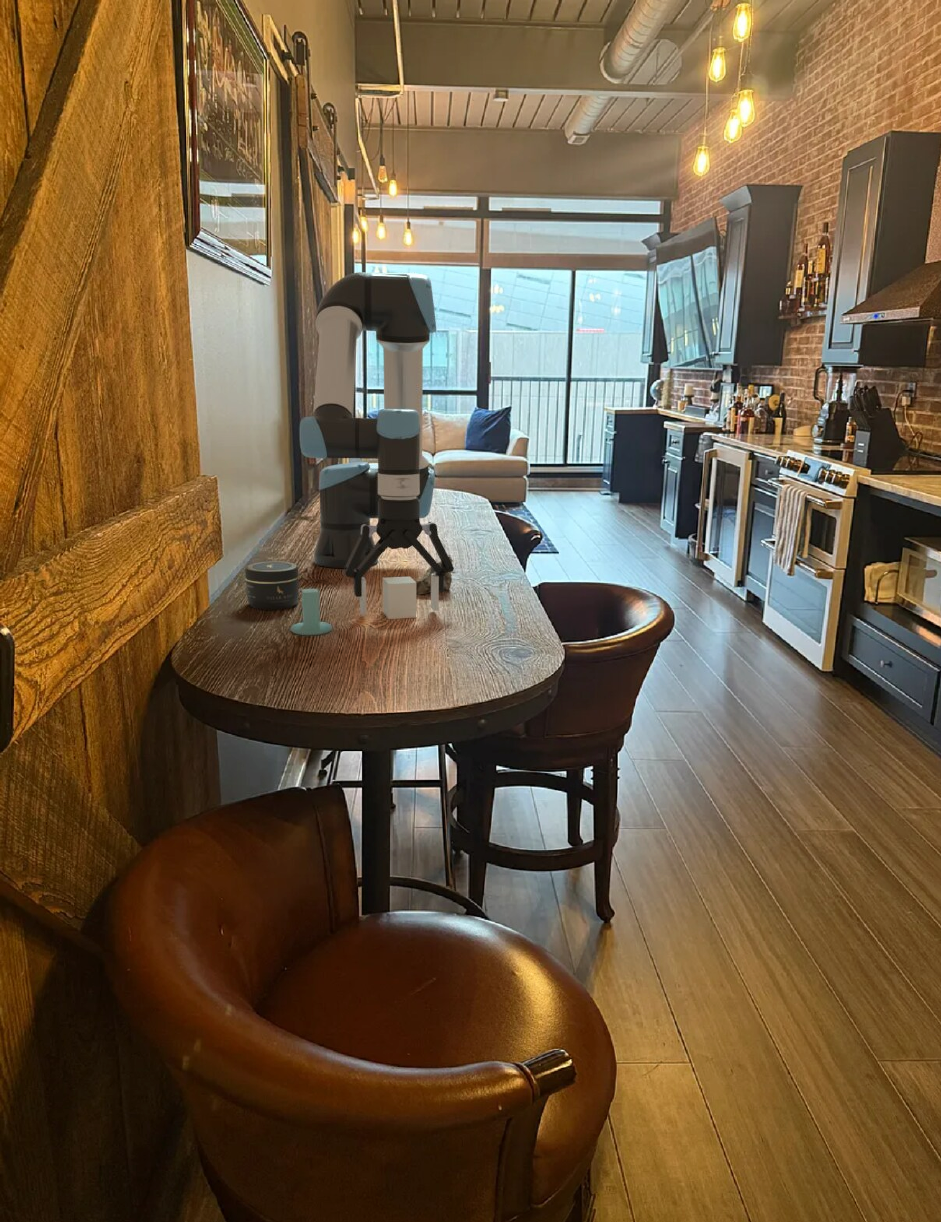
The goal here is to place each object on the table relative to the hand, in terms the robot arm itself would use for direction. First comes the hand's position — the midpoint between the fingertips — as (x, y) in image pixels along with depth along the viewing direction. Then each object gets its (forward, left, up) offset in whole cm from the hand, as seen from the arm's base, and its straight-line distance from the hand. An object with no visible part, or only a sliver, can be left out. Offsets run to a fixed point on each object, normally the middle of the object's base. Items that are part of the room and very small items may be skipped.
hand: (399, 611), depth 159 cm
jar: (-13, -22, -1) cm, 26 cm away
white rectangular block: (0, 0, -1) cm, 1 cm away
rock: (-17, +11, -1) cm, 20 cm away
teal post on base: (+6, -17, -1) cm, 18 cm away
